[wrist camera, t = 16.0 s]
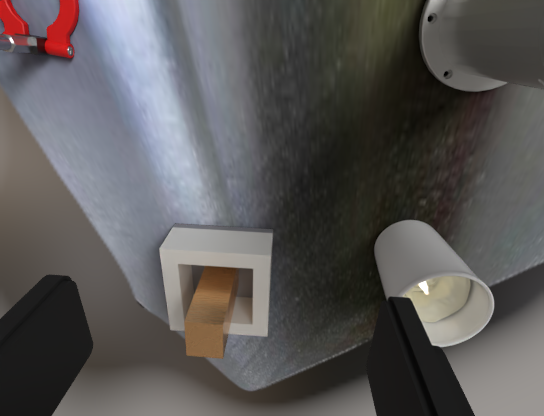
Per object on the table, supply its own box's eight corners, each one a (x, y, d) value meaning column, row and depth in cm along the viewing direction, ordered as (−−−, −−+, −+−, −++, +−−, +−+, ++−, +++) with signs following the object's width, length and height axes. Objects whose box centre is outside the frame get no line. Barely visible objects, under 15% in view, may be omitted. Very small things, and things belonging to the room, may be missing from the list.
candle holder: (370, 214, 42) (397, 274, 32) (451, 212, 42) (506, 273, 31) (364, 276, 47) (386, 347, 36) (437, 276, 46) (482, 348, 35)
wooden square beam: (239, 256, 45) (223, 325, 34) (238, 286, 47) (223, 358, 37) (209, 254, 45) (184, 321, 34) (210, 283, 47) (186, 355, 37)
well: (273, 229, 44) (270, 255, 39) (269, 304, 50) (267, 336, 44) (175, 223, 44) (159, 248, 39) (183, 298, 50) (170, 330, 45)
